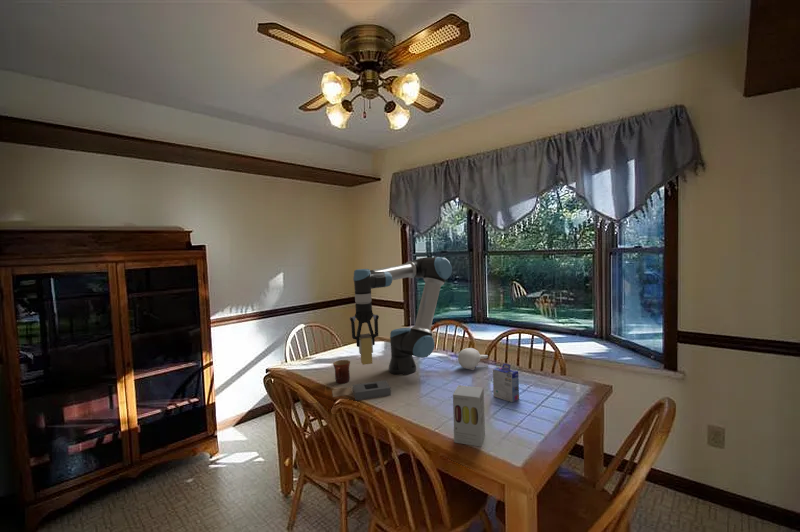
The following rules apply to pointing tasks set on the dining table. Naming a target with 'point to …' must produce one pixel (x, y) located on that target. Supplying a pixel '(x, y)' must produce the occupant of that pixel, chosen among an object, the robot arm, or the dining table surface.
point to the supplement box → (469, 415)
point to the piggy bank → (470, 358)
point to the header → (371, 390)
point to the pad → (342, 392)
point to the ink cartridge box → (505, 383)
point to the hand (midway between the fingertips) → (366, 352)
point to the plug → (366, 349)
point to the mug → (342, 371)
